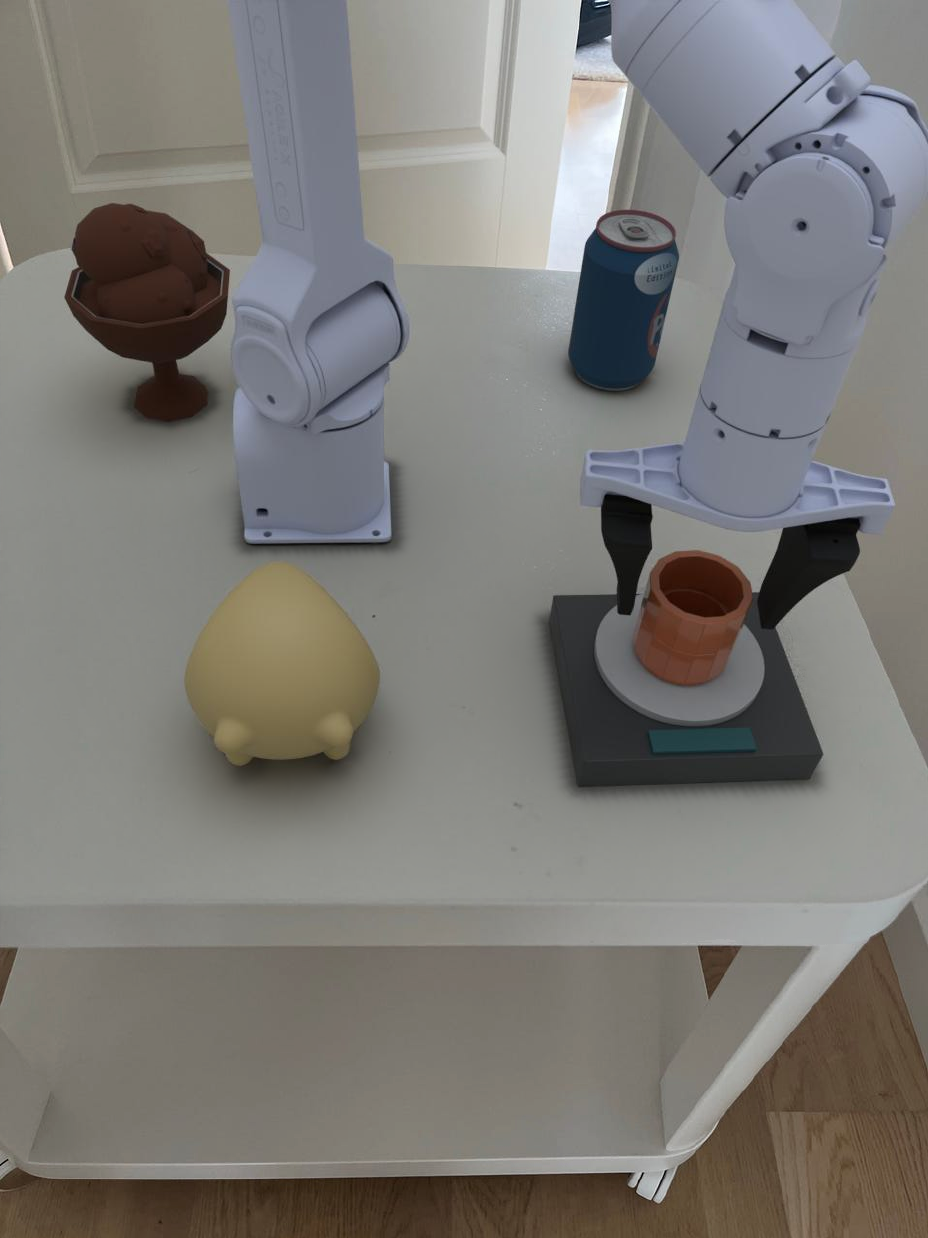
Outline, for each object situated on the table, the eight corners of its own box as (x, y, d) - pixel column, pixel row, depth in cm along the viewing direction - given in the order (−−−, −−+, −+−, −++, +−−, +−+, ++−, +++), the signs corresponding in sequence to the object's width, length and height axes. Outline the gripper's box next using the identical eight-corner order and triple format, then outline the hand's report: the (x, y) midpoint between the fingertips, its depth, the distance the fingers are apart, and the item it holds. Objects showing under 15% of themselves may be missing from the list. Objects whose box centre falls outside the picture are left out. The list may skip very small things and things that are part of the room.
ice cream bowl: (217, 454, 71) (185, 255, 60) (68, 428, 72) (10, 228, 61) (266, 371, 78) (246, 179, 67) (130, 348, 79) (88, 156, 68)
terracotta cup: (633, 684, 55) (652, 618, 51) (630, 611, 59) (648, 544, 55) (731, 694, 55) (758, 629, 51) (722, 620, 59) (746, 554, 55)
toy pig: (374, 748, 59) (372, 567, 59) (387, 779, 47) (383, 553, 47) (204, 753, 58) (201, 569, 58) (172, 787, 46) (169, 555, 46)
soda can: (662, 394, 79) (697, 250, 70) (576, 397, 78) (601, 252, 69) (638, 344, 84) (668, 204, 75) (557, 347, 83) (578, 205, 74)
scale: (577, 787, 54) (585, 755, 52) (548, 621, 62) (554, 587, 60) (810, 779, 55) (828, 748, 53) (752, 617, 63) (765, 584, 61)
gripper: (909, 363, 47) (816, 569, 57) (599, 334, 47) (562, 544, 57) (946, 458, 42) (838, 665, 52) (601, 425, 42) (559, 637, 52)
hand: (694, 608), depth 54 cm, fingers open, 7 cm apart
